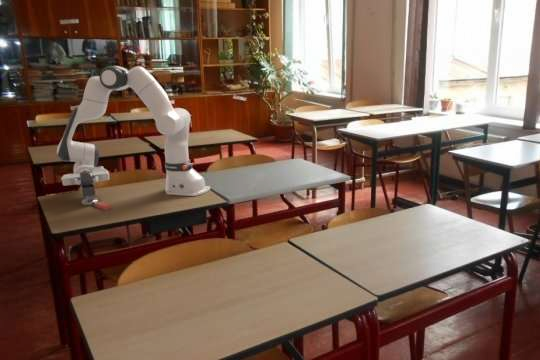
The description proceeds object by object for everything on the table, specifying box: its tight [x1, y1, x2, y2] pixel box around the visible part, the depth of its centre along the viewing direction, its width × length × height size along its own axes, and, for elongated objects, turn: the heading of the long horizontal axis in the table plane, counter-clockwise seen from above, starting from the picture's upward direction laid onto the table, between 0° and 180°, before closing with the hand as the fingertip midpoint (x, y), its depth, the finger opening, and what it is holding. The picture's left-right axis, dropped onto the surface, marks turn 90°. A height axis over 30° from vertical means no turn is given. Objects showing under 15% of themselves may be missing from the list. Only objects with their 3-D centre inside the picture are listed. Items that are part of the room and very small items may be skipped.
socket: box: [80, 171, 96, 198], centre depth 212 cm, size 5×5×10 cm
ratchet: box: [81, 195, 113, 211], centre depth 211 cm, size 18×7×4 cm, turn 53°
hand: (87, 182), depth 211 cm, fingers closed on socket, 5 cm apart
